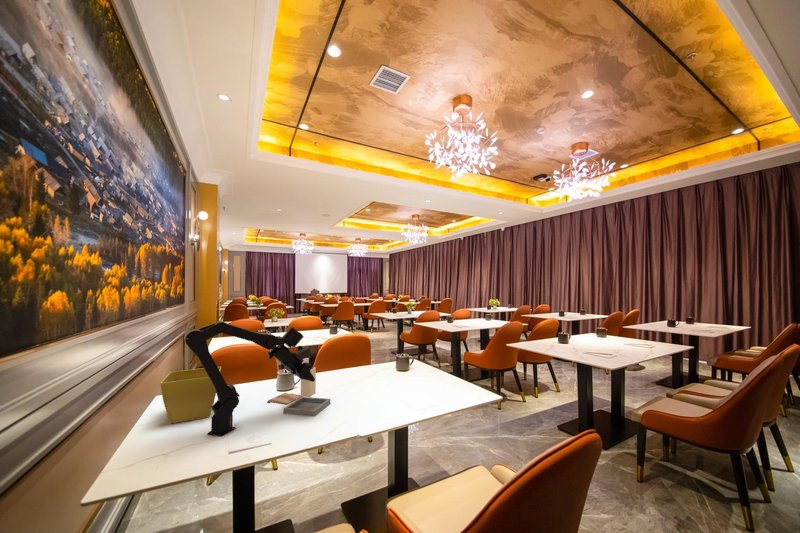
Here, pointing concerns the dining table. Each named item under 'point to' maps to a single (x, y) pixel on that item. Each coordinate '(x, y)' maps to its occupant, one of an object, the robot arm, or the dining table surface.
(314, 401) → the bin
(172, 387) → the flower pot
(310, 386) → the carton
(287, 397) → the pad
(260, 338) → the robot arm
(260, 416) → the dining table surface
